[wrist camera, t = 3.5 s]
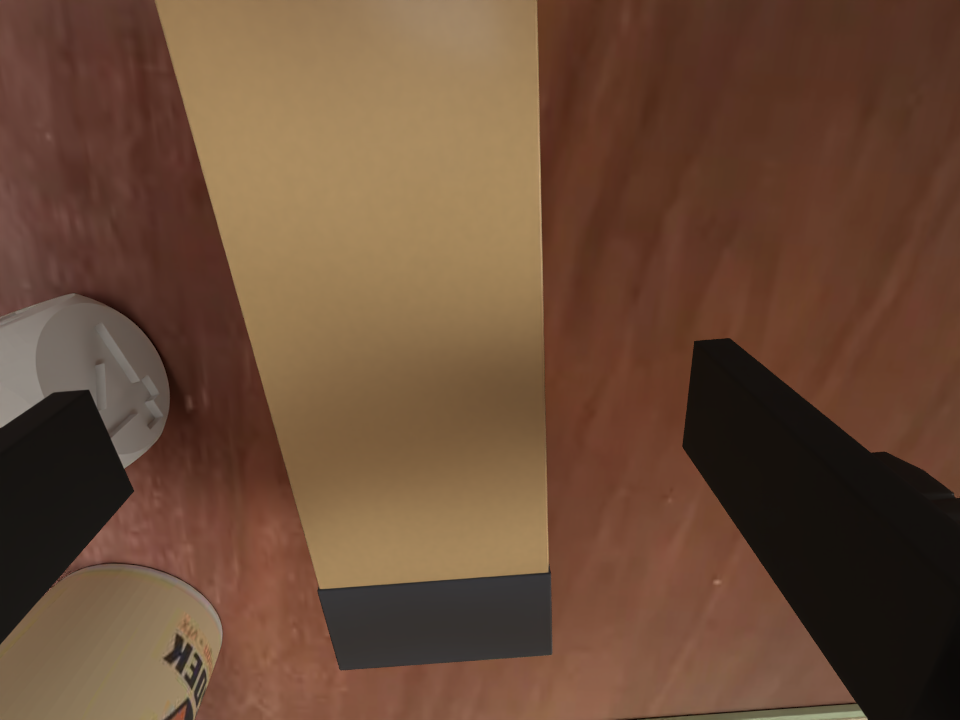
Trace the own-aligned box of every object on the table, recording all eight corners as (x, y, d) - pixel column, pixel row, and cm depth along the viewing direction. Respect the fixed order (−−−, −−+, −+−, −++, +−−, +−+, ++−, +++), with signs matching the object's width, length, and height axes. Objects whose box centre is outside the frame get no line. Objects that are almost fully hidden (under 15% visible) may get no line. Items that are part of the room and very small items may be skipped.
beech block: (288, 48, 14) (145, -8, 8) (506, 31, 14) (540, -39, 8) (377, 504, 21) (339, 671, 15) (525, 492, 21) (552, 655, 15)
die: (114, 278, 17) (-13, 337, 12) (193, 404, 19) (109, 494, 15) (-18, 321, 17) (-186, 392, 13) (73, 439, 20) (-44, 537, 15)
